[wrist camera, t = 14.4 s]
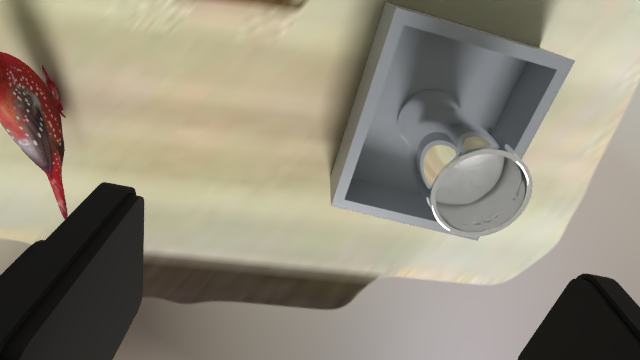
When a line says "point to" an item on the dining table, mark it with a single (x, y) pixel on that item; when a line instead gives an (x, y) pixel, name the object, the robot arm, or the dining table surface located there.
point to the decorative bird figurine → (33, 119)
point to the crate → (443, 75)
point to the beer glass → (462, 166)
